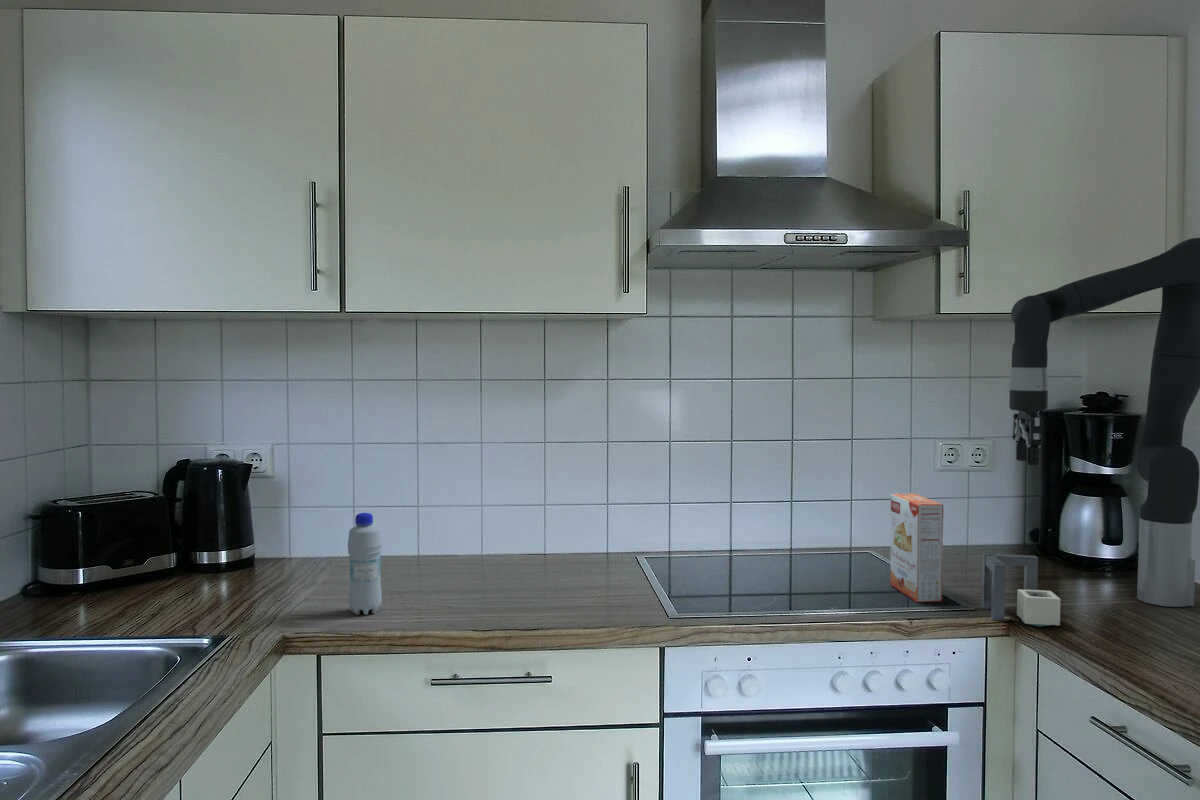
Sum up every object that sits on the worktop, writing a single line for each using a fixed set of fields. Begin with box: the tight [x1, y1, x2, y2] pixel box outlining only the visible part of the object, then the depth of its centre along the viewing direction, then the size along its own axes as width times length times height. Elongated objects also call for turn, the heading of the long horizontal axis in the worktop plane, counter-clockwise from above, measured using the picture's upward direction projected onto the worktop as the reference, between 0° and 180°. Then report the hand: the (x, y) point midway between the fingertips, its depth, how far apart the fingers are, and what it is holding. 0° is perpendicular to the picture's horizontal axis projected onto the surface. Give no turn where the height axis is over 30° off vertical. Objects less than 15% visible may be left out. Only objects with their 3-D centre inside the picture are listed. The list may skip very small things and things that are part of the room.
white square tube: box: [1016, 588, 1062, 626], centre depth 168 cm, size 6×6×5 cm
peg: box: [1021, 593, 1051, 628], centre depth 168 cm, size 6×6×6 cm
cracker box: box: [889, 493, 944, 604], centre depth 188 cm, size 14×6×21 cm, turn 4°
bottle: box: [347, 512, 383, 616], centre depth 174 cm, size 7×7×20 cm
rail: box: [980, 553, 1039, 622], centre depth 173 cm, size 10×10×11 cm
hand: (1026, 462), depth 190 cm, fingers open, 8 cm apart
